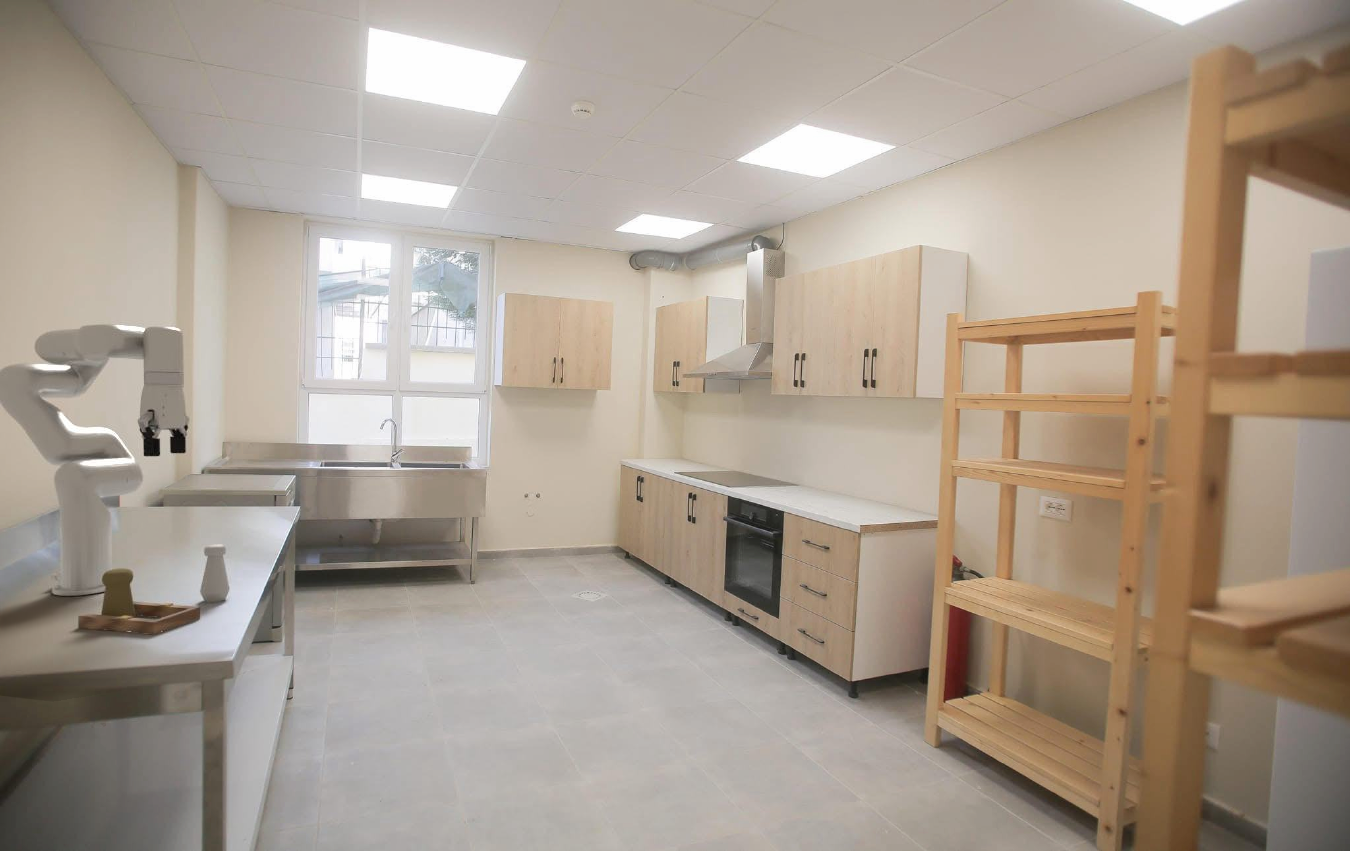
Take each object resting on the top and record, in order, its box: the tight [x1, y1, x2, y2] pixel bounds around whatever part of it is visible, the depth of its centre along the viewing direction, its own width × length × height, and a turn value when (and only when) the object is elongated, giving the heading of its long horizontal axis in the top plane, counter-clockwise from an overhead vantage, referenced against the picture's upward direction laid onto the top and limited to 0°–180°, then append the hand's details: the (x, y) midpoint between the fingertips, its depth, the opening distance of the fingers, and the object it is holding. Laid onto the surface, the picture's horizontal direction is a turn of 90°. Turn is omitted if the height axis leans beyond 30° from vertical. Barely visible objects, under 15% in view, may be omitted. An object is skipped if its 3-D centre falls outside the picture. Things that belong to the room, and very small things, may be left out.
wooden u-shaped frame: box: [77, 600, 201, 635], centre depth 150 cm, size 18×11×3 cm, turn 80°
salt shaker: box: [199, 543, 231, 603], centre depth 167 cm, size 6×6×13 cm
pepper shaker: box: [100, 567, 137, 618], centre depth 151 cm, size 6×6×11 cm
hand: (165, 454), depth 165 cm, fingers open, 9 cm apart
